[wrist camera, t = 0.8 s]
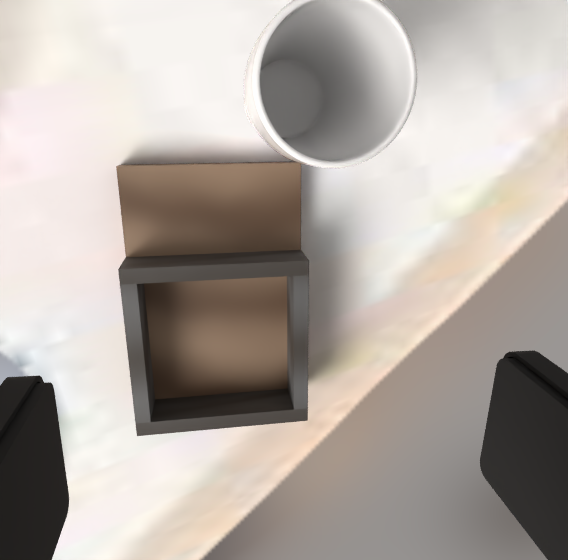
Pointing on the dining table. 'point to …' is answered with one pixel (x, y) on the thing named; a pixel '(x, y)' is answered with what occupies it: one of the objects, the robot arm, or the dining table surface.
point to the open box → (214, 294)
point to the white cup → (331, 81)
